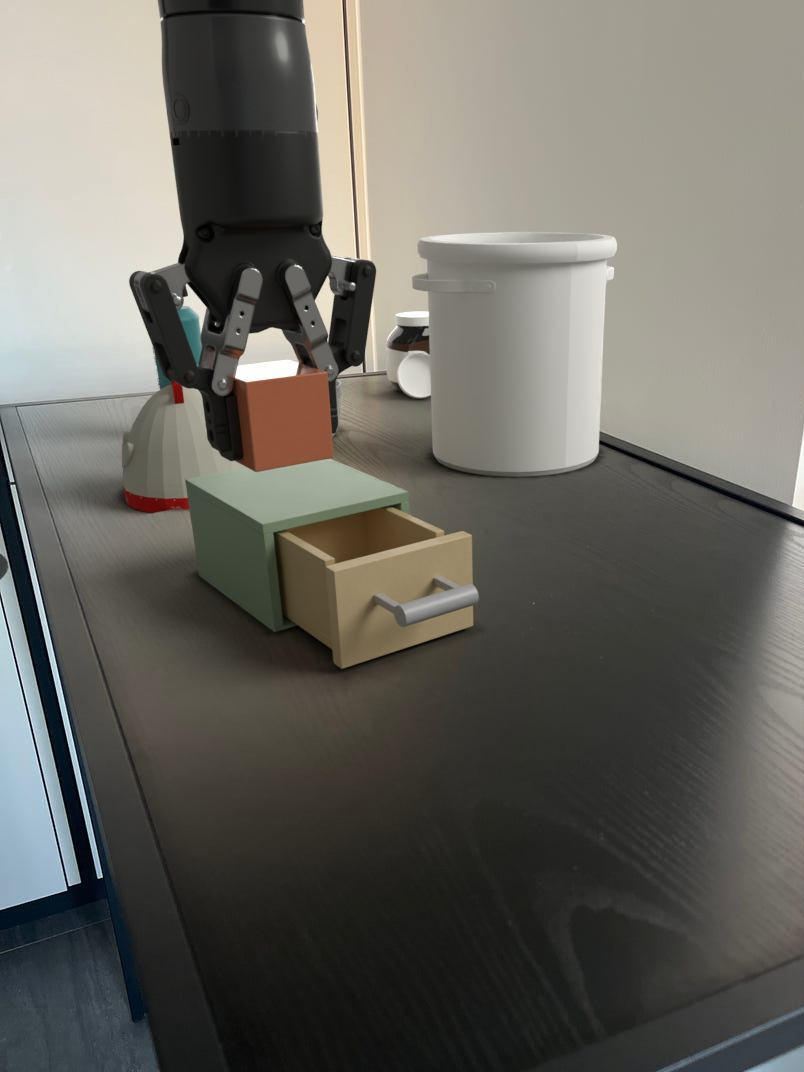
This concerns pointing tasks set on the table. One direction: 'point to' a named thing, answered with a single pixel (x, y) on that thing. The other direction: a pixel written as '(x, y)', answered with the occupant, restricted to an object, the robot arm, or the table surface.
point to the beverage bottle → (193, 335)
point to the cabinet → (271, 523)
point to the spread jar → (410, 354)
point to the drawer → (375, 582)
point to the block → (283, 414)
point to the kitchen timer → (168, 451)
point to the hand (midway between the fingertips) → (275, 448)
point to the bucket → (516, 349)
